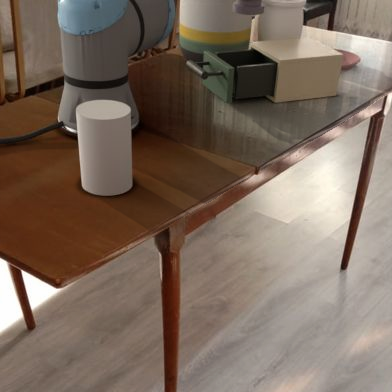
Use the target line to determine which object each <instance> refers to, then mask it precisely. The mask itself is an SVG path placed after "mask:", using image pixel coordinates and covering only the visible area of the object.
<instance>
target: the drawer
mask: <svg viewBox="0 0 392 392" xmlns="http://www.w3.org/2000/svg"><path fill="white" fill-rule="evenodd" d="M201 65H203V67H200V66H201ZM185 66H186V68H187V69H189V70H190V71H191V72H193V73H194V74H195V75H197V76H198V77H199V78H200V79H202V81H201V84H202V85H203V86H204V87H206V88H207V89H208V90H210V92H212V93H213V94H215V96H217V97H219V98H220V99H221V100H223V101H224V102H225V103H227V104H228V103H232V102H233V99H235V100H239V99H248V98H258V97H266V96H267V95H274V91H275V83H276V75H277V67H278V63H277V62H275V61H274V60H272V59H270V58H269V57H267V56H266V55H264V54H262V53H261V52H259V51H257V50H256V49H247V50H235V51H223V52H216V55H214V54H213V53H212V52H210V51H204V59H203V62H193V61H192V60H188V61H187V60H186V63H185Z"/></svg>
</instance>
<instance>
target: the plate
mask: <svg viewBox="0 0 392 392" xmlns="http://www.w3.org/2000/svg"><path fill="white" fill-rule="evenodd" d="M333 49H334V50H336V51H338V52H340V53H342V54H344V56H343V62H342V67H341V72H344V71H345V72H346V71H350V70H351V69H352V68H354V67H355V66H357V65H358V64H359V63H360V62H361V61H362V58H361V57H360V55H358V54H356V53H354V52H351V51H348V50H345V49H344V50H343V49H339V48H333Z"/></svg>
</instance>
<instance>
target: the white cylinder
mask: <svg viewBox="0 0 392 392" xmlns="http://www.w3.org/2000/svg"><path fill="white" fill-rule="evenodd" d="M76 118H77V130H78V138H77V141H78V154H79V166H80V177H81V187H82V189H83V190H84V191H85V192H88V193H90V194H92V195H96V196H104V197H106V196H109V197H110V196H111V197H112V196H116V195H121V194H124V193H127V192H128V191H129V190H131V189H132V187H133V149H132V146H133V145H132V134H131V109H130V107H129V106H128V105H126V104H124V103H122V102H118V101H113V100H93V101H88V102H84V103H82V104H80V105H78V106H77V108H76Z"/></svg>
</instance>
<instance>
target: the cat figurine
mask: <svg viewBox="0 0 392 392" xmlns="http://www.w3.org/2000/svg"><path fill="white" fill-rule="evenodd" d="M264 7H265V4H264V3H262V0H237V1H235V2H233V12H235V13H238V14H244V15H252V16H255V15H260V14H263V13H264Z"/></svg>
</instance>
